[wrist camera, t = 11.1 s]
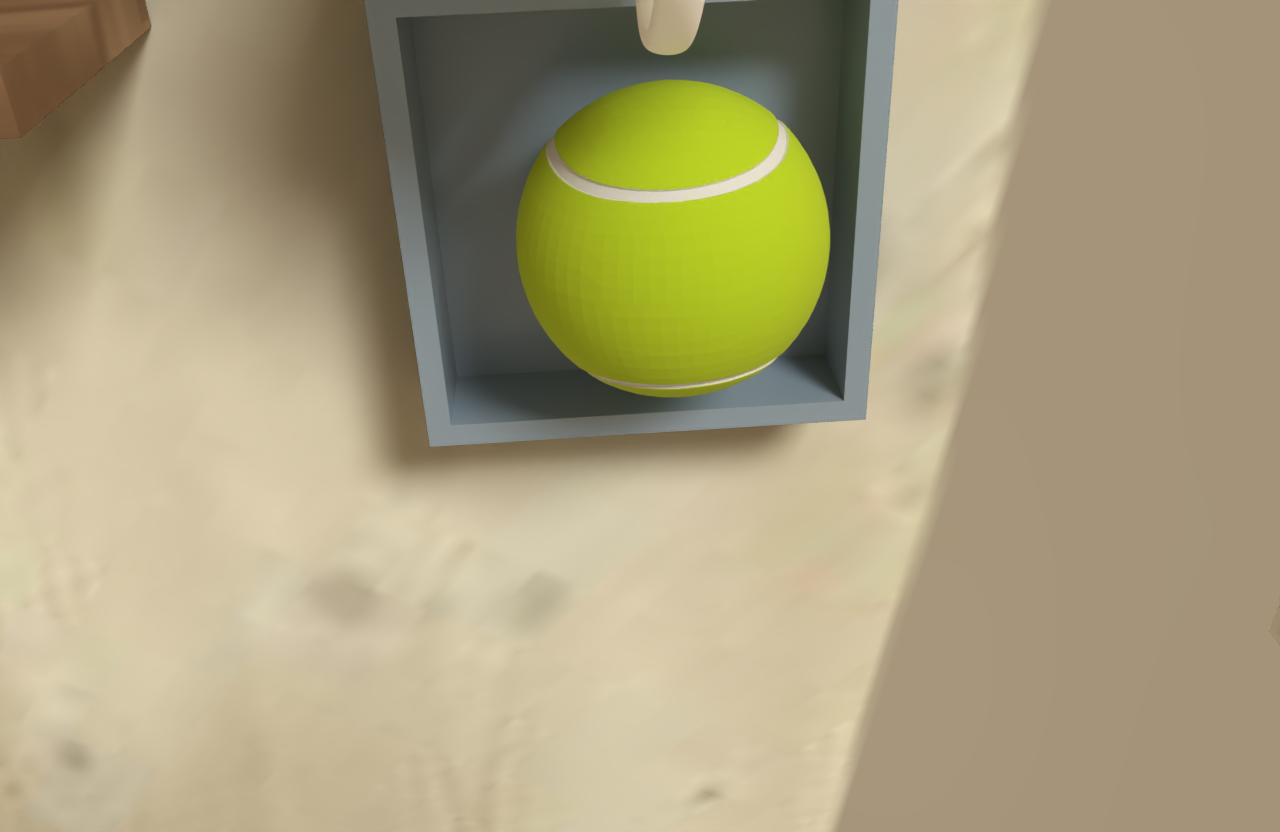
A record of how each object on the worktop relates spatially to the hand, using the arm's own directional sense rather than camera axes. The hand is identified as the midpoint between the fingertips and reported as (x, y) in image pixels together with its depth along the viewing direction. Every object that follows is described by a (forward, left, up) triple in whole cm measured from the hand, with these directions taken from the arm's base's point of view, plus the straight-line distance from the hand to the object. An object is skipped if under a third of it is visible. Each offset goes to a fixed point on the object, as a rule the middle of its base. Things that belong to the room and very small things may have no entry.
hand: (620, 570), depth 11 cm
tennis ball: (+4, +2, -20) cm, 20 cm away
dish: (+4, +1, -20) cm, 21 cm away
